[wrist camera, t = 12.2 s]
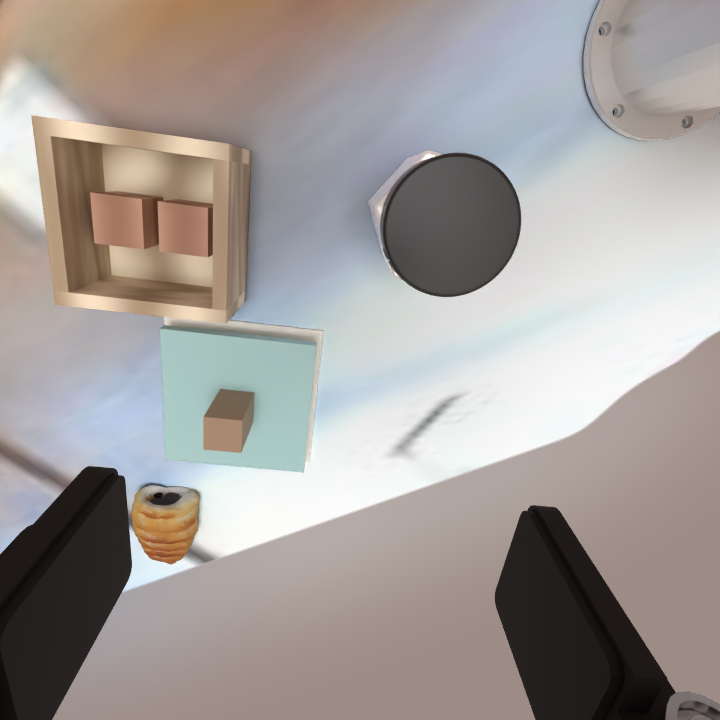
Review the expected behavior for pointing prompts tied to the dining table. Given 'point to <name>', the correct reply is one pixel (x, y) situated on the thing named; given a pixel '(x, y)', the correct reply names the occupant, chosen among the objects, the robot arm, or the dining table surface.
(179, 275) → the box
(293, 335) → the mat
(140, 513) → the pastry
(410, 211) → the jar
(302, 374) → the lid
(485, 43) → the dining table surface
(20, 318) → the dining table surface
